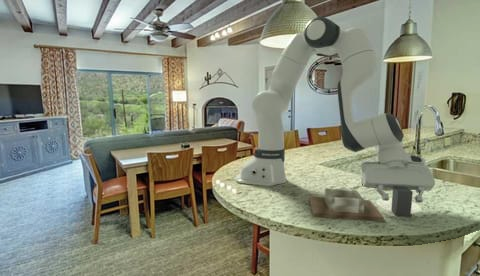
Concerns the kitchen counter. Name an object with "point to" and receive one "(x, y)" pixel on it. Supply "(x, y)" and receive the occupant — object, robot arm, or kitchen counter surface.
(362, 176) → the white wedge bracket
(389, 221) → the kitchen counter surface
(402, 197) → the black plug
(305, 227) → the kitchen counter surface
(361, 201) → the socket block
